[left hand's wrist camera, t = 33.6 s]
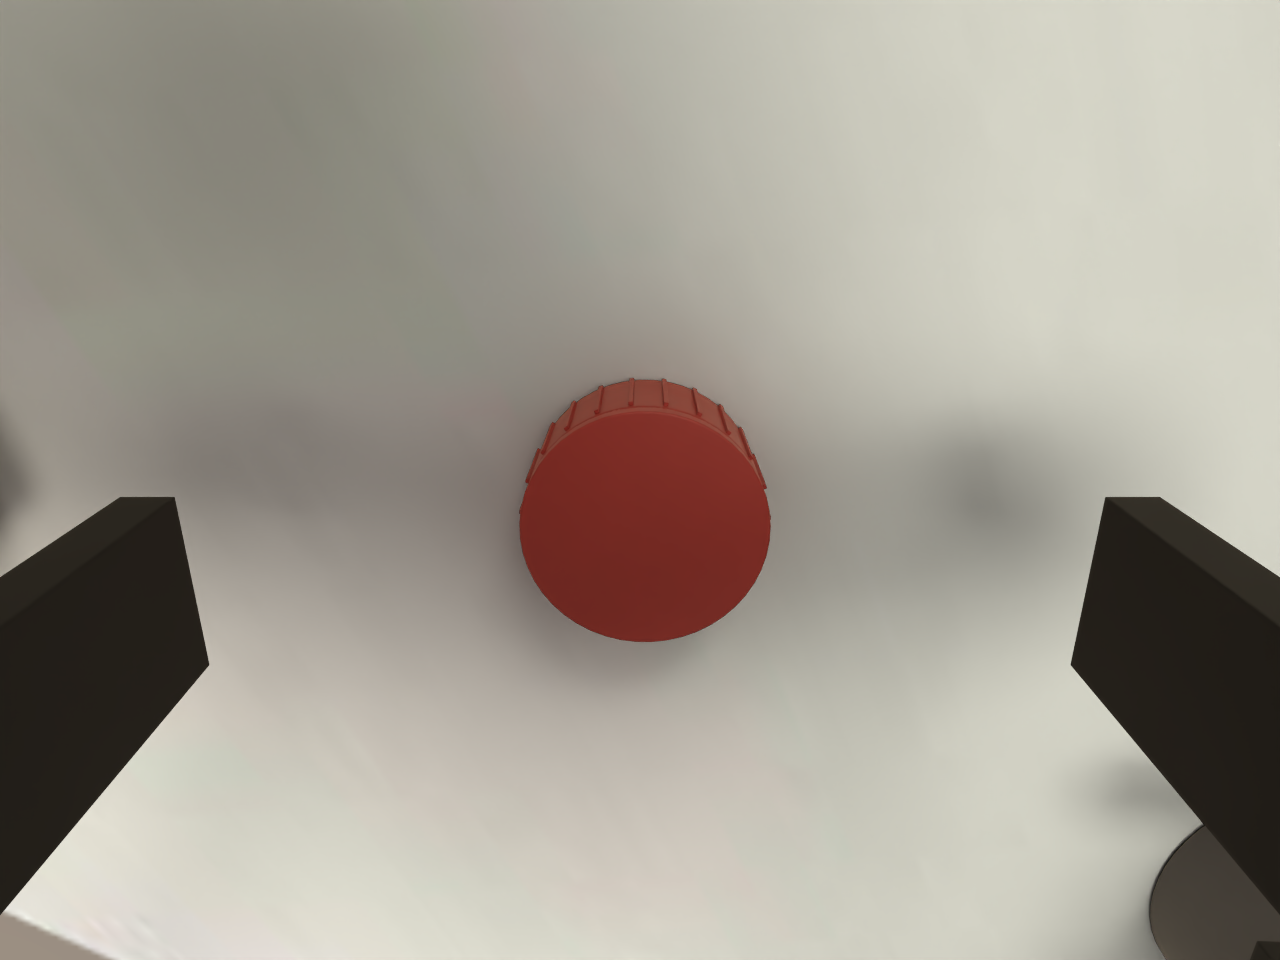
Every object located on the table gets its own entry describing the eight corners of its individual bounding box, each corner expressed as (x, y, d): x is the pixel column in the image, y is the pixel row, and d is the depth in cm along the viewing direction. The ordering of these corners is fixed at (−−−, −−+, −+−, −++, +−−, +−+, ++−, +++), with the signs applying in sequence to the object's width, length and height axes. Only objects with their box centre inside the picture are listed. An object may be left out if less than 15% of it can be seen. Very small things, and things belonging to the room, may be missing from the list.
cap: (721, 345, 16) (733, 373, 14) (783, 552, 18) (802, 606, 16) (499, 416, 17) (477, 454, 15) (577, 611, 18) (567, 672, 16)
